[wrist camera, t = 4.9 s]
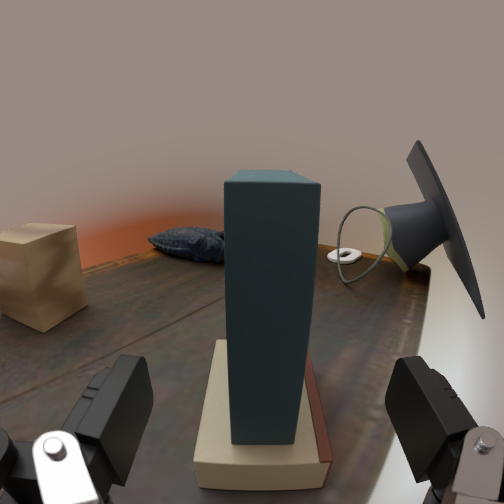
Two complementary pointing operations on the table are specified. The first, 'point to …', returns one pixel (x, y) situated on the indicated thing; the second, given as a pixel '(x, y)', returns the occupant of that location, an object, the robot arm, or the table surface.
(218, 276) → the table surface
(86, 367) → the table surface
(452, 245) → the graduation cap
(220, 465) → the cream book
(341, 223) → the loop
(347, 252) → the chain link
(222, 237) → the fish model
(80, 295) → the birch box
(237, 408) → the teal rectangular block
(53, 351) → the table surface
